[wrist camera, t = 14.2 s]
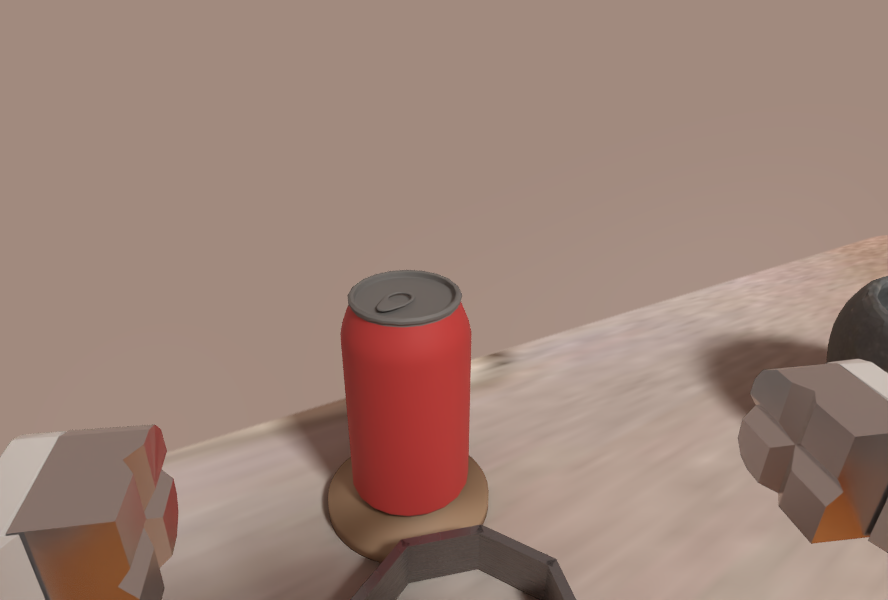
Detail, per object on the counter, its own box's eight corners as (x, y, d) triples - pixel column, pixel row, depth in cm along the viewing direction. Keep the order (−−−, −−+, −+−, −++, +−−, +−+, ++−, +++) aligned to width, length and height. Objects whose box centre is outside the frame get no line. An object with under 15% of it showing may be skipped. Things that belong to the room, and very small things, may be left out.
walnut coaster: (294, 519, 34) (293, 508, 34) (390, 430, 41) (390, 420, 41) (433, 594, 30) (433, 582, 30) (514, 480, 37) (515, 470, 37)
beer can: (328, 489, 35) (307, 300, 30) (401, 428, 40) (394, 255, 35) (422, 543, 32) (417, 340, 26) (489, 469, 37) (497, 285, 31)
